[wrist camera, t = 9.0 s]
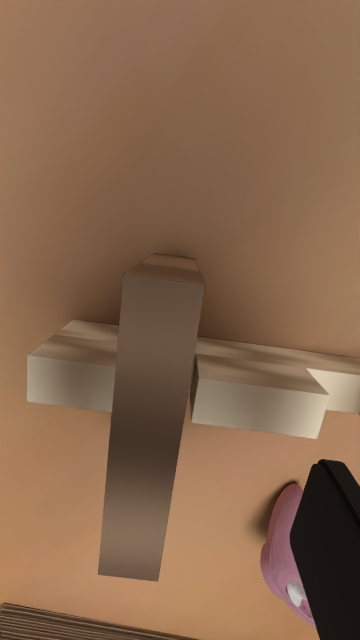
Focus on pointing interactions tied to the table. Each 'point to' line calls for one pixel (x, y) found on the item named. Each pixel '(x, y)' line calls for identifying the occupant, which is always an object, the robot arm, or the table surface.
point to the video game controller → (284, 555)
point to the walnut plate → (148, 411)
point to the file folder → (67, 627)
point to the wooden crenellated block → (204, 380)
